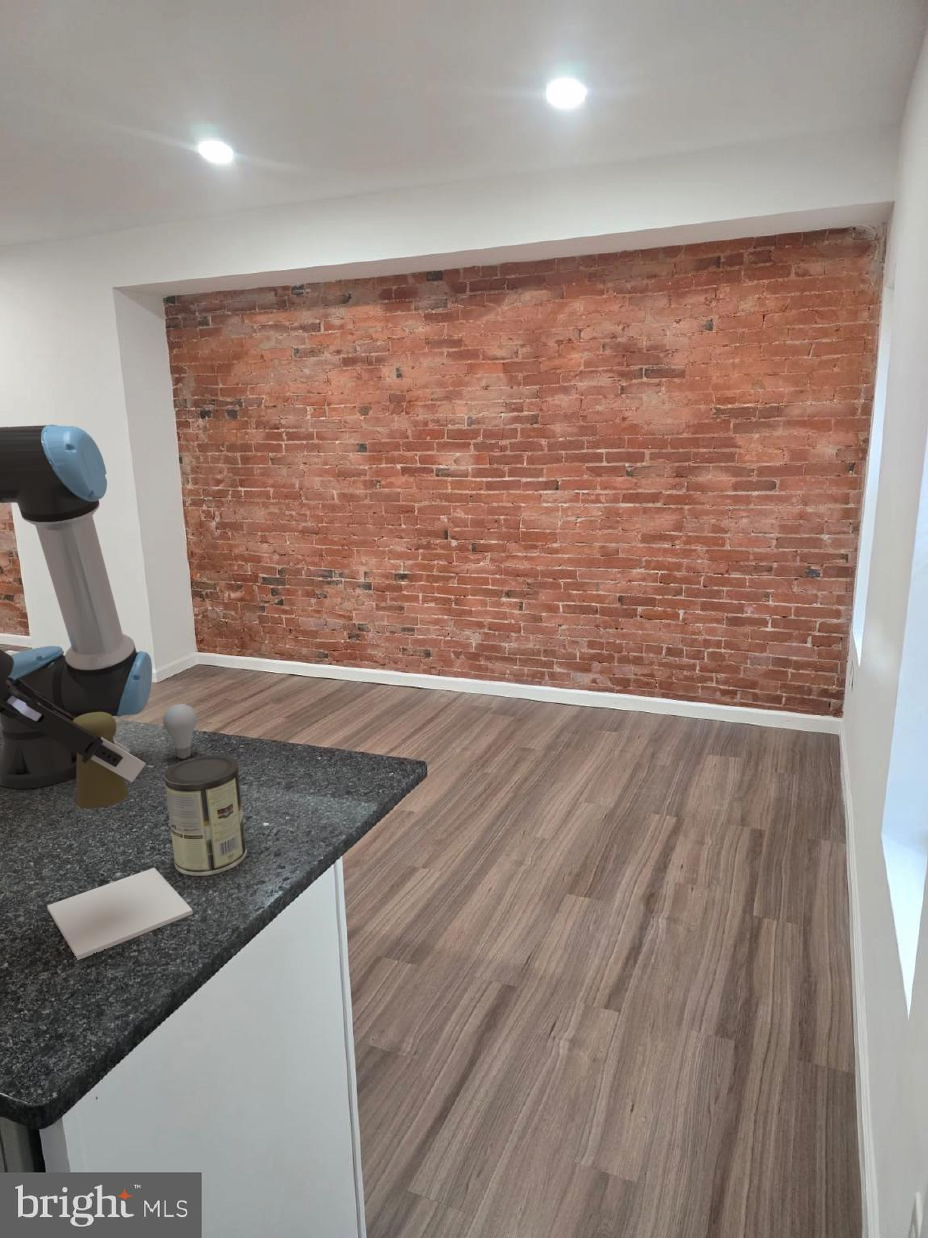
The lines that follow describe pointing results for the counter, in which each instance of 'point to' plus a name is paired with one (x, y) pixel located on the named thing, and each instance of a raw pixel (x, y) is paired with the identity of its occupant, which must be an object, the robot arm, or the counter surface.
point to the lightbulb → (180, 727)
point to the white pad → (117, 912)
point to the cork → (98, 767)
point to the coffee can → (205, 814)
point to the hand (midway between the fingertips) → (130, 765)
